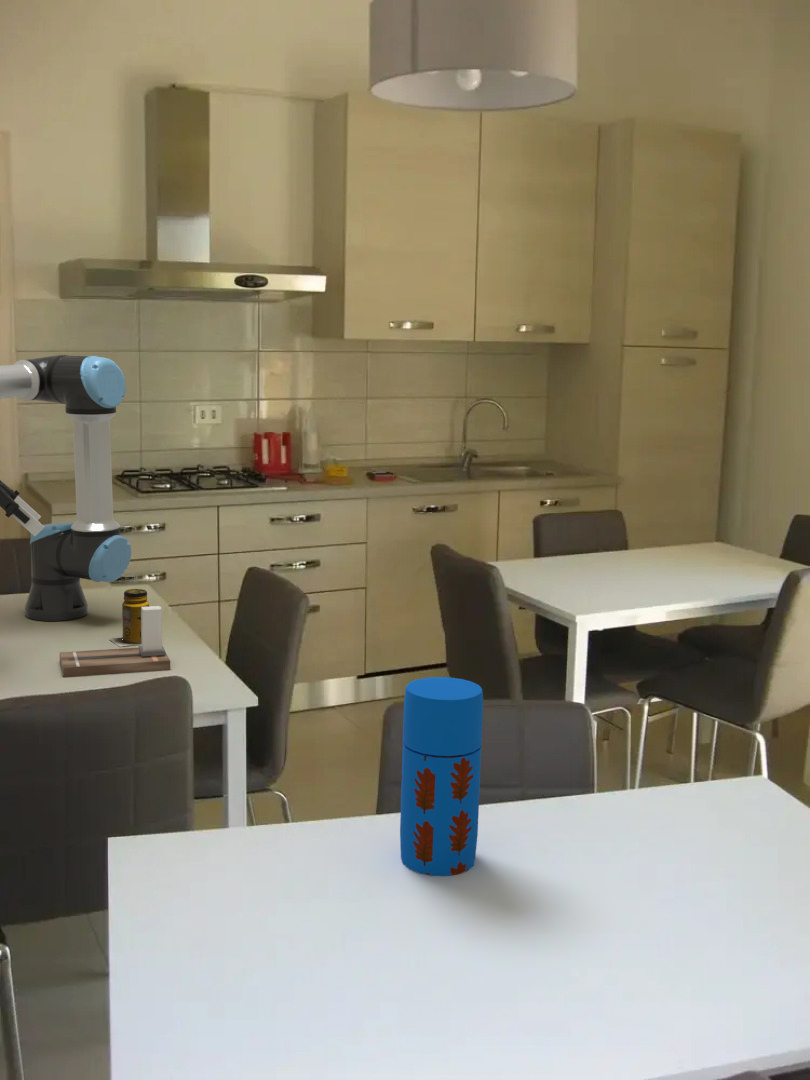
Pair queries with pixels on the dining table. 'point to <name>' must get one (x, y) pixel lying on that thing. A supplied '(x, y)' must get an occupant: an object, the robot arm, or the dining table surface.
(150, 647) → the fader tab
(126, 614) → the condiment
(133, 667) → the fader track
